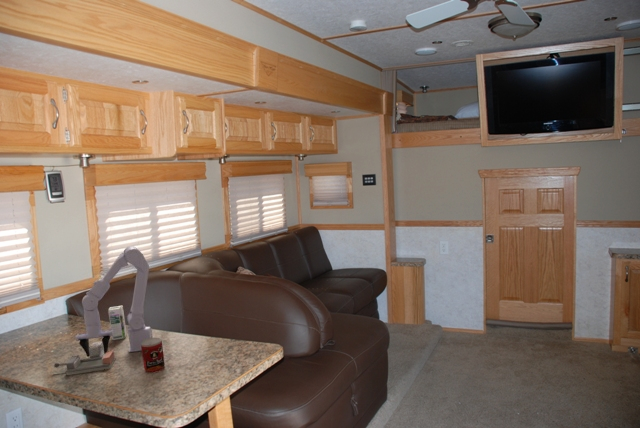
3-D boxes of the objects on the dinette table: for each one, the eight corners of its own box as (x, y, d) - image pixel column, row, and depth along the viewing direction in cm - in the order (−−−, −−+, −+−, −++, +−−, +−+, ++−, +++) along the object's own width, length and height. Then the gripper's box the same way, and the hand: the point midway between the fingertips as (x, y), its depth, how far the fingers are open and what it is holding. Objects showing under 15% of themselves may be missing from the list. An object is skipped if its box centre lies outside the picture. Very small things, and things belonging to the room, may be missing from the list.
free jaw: (114, 357, 207) (113, 350, 206) (110, 364, 199) (109, 357, 199) (106, 358, 206) (105, 351, 206) (102, 365, 199) (101, 358, 198)
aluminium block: (104, 354, 215) (103, 340, 214) (100, 360, 208) (98, 346, 207) (95, 355, 214) (93, 342, 213) (90, 362, 207) (88, 348, 207)
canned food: (146, 374, 189) (142, 346, 188) (142, 367, 196) (139, 340, 195) (166, 369, 193) (163, 341, 191) (163, 362, 200) (159, 336, 198)
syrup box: (112, 340, 231) (107, 310, 230) (114, 336, 237) (109, 306, 235) (125, 338, 233) (121, 308, 231) (126, 334, 238) (122, 304, 237)
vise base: (115, 358, 208) (114, 349, 208) (109, 368, 198) (108, 358, 198) (59, 367, 204) (58, 357, 204) (50, 377, 194) (49, 367, 194)
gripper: (113, 317, 214) (117, 348, 216) (77, 322, 212) (81, 353, 214) (109, 323, 208) (113, 354, 209) (72, 328, 205) (76, 360, 207)
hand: (97, 354), depth 211 cm, fingers open, 6 cm apart
